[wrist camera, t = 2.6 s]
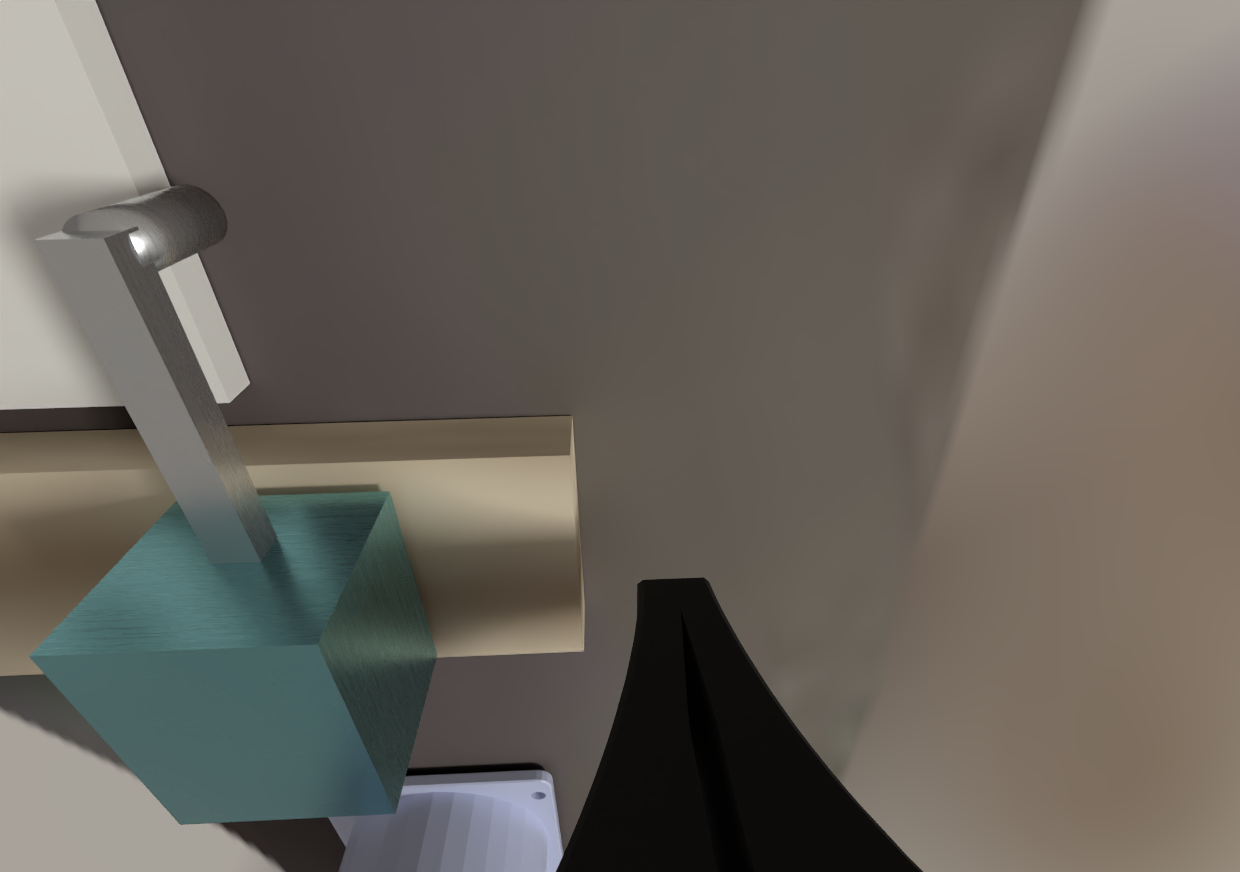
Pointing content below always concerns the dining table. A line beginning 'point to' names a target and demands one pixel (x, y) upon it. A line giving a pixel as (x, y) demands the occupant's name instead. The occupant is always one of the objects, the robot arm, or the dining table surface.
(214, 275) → the dining table surface
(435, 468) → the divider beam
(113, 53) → the bolt plate
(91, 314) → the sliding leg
